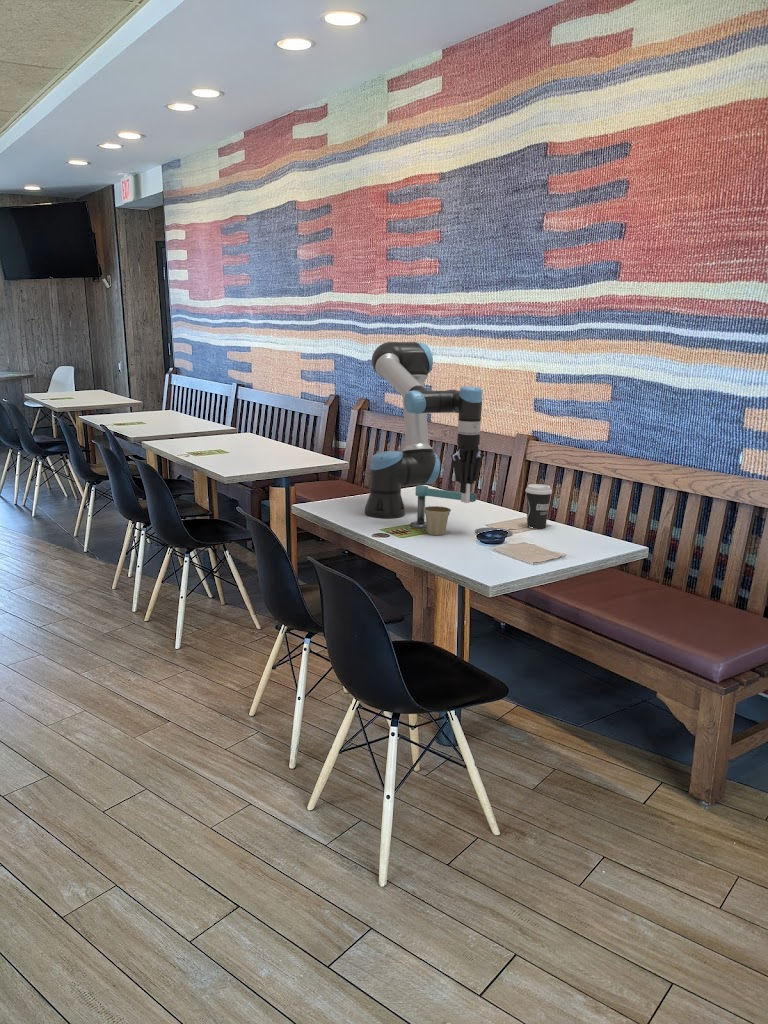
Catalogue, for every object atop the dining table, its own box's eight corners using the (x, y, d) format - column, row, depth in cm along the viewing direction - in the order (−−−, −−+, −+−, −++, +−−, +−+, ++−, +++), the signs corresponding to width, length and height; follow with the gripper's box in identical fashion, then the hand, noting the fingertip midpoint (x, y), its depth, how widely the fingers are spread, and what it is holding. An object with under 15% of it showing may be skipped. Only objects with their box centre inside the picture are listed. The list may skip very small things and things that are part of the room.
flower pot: (447, 530, 290) (448, 506, 289) (451, 536, 281) (453, 512, 279) (421, 530, 290) (422, 505, 288) (424, 536, 281) (425, 511, 279)
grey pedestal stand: (407, 524, 296) (408, 494, 294) (424, 523, 300) (425, 493, 297) (416, 529, 290) (417, 498, 288) (433, 527, 294) (435, 497, 291)
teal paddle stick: (413, 495, 292) (413, 487, 291) (418, 493, 295) (419, 485, 295) (472, 503, 282) (472, 494, 281) (476, 500, 285) (477, 492, 285)
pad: (467, 530, 291) (467, 529, 291) (498, 527, 297) (498, 526, 296) (488, 539, 279) (488, 538, 279) (520, 535, 285) (520, 534, 285)
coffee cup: (528, 530, 293) (531, 488, 290) (519, 524, 302) (521, 483, 299) (553, 529, 295) (556, 488, 292) (543, 523, 304) (546, 483, 301)
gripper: (461, 435, 271) (457, 506, 276) (490, 433, 278) (486, 502, 283) (446, 432, 277) (443, 501, 282) (476, 431, 284) (472, 498, 289)
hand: (465, 502), depth 283 cm, fingers closed
